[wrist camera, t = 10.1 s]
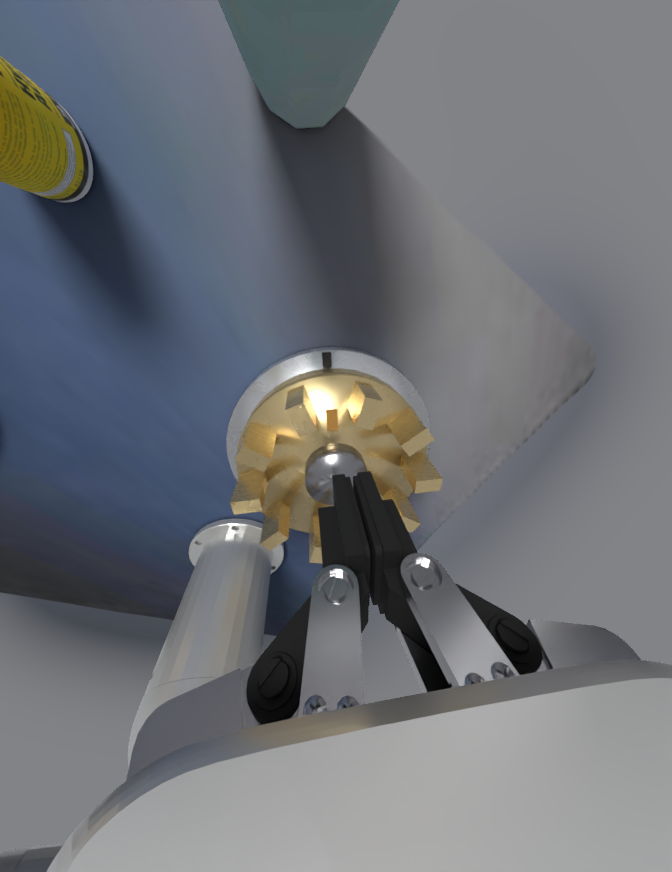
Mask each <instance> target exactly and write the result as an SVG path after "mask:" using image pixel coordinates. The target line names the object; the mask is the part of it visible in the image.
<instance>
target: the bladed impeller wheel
mask: <svg viewBox="0 0 672 872" xmlns="http://www.w3.org/2000/svg"><path fill="white" fill-rule="evenodd" d="M434 440H435V439H434V438H433V436H432V435H431V434H430V432H429V431H428V429H427V428H426V427H425V426H424V425H423V424H422V422H421V421H420V419H419V417H418V416H417V414H416V412H415V411H414V409H413V408H412V407H411V406H410V405H409V404H408V403H407V401H406V400H405V399H404V398H403V397H402V396H401V395H400V394H399V393H398V392H397V391H396V390H395V389H394V388H392V387H391V386H390V385H389V384H387V383H386V382H384V381H382V380H381V379H379V378H377V377H374V376H372V375H370V374H367V373H364V372H360V371H356V370H351V369H343V368H326V369H319V370H313V371H309V372H306V373H302V374H299V375H297V376H294V377H292V378H290V379H288V380H286V381H284V382H283V383H281V384H279V385H278V386H276V387H275V388H273V389H272V390H271V391H270V392H269V393H267V394H266V395H265V396H264V397H263V398H262V399H261V401H260V402H259V403H258V404H257V405H256V407H255V408H254V410H253V411H252V413H251V414H250V416H249V418H248V421H247V423H246V425H245V427H244V429H243V432H242V434H241V437H240V440H239V443H238V447H237V455H236V457H235V460H236V466H237V473H238V477H239V478H238V481H237V484H236V487H235V490H234V493H233V495H232V498H231V501H230V504H231V507H232V510H233V513H234V514H243V513H252V512H262V513H263V514H264V515H265V516H264V521H263V527H262V533H261V539H260V545H262V546H263V547H265V548H267V549H268V550H270V551H271V550H272V549H274V548H275V547H277V546H278V545H280V544H281V543H283V542H284V541H286V540H287V539H289V528H291V529H294V530H298V531H303V532H307V533H309V562H310V563H322V552H321V540H320V527H319V515H318V508H321V507H330V506H334V499H333V484H332V475H338V474H345V477H350V479H351V483H352V486H353V476H357V473H358V472H365V471H370V472H371V474H372V476H373V479H374V481H375V484H376V486H377V489H378V491H379V493H380V496H381V498H382V500H387V499H392V500H393V501H394V503H395V505H396V507H397V509H398V511H399V513H400V516H401V518H402V520H403V522H404V524H405V526H406V529H407V531H408V532H411V533H412V532H413V531H414V530H415V529H416V528H417V527H418V526H419V525H420V524H421V523H420V521H419V519H418V517H417V515H416V513H415V511H414V509H413V507H412V505H411V503H410V501H409V499H408V497H409V496H410V494H411V493H412V492H413V491H414V493H424V492H432V491H440V490H441V485H442V480H443V478H442V477H441V475H440V474H439V473H438V471H437V470H436V469H435V467H434V466H433V465H432V463H431V462H430V461H429V459H428V458H427V445H428V444H429V443H431V442H432V441H434Z"/></svg>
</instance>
